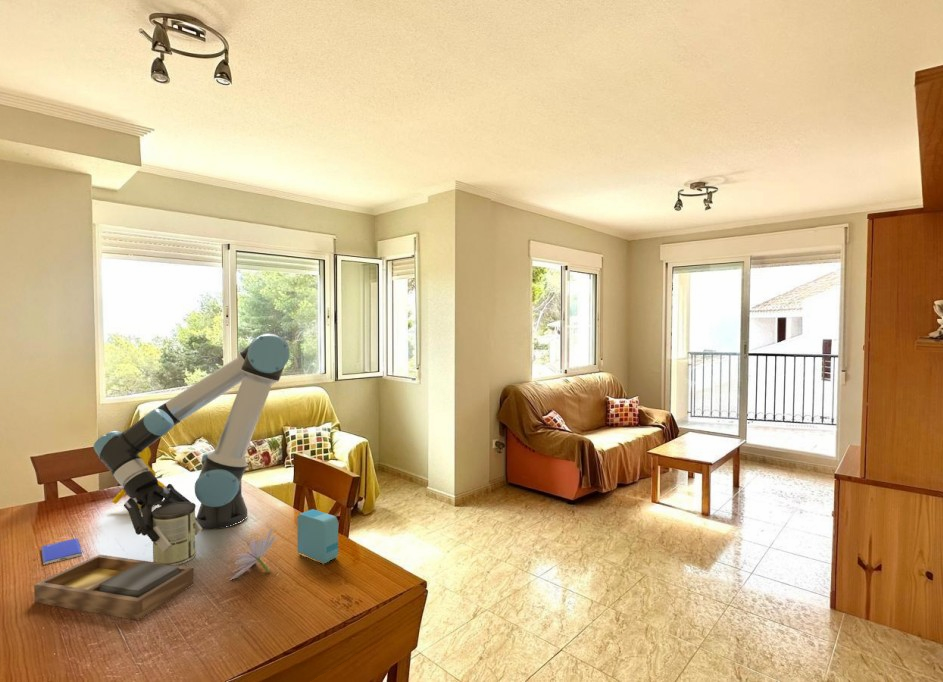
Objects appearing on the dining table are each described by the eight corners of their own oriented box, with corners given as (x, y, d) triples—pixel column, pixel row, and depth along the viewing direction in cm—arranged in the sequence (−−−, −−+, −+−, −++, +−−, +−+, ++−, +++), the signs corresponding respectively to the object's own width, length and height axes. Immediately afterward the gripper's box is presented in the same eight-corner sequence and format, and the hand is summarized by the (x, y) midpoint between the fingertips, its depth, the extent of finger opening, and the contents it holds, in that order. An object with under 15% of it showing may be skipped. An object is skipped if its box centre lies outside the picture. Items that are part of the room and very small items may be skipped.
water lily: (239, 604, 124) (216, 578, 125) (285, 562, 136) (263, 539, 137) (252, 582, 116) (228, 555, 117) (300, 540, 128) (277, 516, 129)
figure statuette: (168, 497, 183) (167, 439, 182) (174, 502, 177) (173, 442, 177) (110, 510, 170) (109, 447, 169) (115, 516, 164) (114, 451, 164)
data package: (338, 559, 134) (338, 516, 133) (325, 566, 130) (325, 522, 130) (310, 548, 140) (310, 507, 140) (297, 554, 137) (296, 512, 136)
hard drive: (41, 546, 139) (43, 561, 130) (77, 537, 145) (82, 551, 136) (41, 551, 139) (43, 567, 130) (78, 542, 145) (82, 557, 136)
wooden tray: (34, 602, 112) (34, 580, 112) (100, 569, 128) (100, 550, 127) (137, 620, 105) (137, 597, 105) (194, 583, 121) (194, 563, 121)
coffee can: (148, 558, 134) (148, 507, 134) (190, 546, 141) (189, 499, 141) (157, 571, 127) (156, 518, 126) (200, 558, 134) (200, 508, 134)
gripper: (163, 476, 148) (207, 531, 145) (89, 501, 126) (138, 568, 123) (177, 459, 147) (221, 516, 143) (105, 482, 125) (155, 549, 121)
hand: (183, 540), depth 133 cm, fingers closed on coffee can, 10 cm apart
